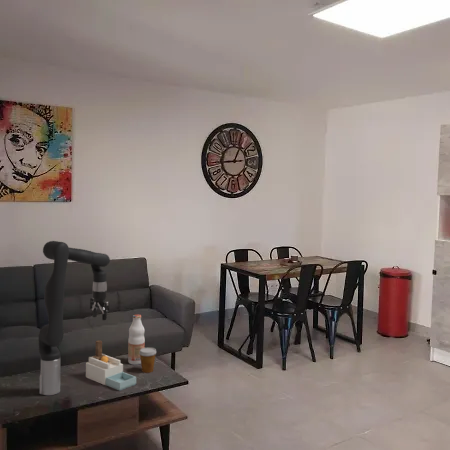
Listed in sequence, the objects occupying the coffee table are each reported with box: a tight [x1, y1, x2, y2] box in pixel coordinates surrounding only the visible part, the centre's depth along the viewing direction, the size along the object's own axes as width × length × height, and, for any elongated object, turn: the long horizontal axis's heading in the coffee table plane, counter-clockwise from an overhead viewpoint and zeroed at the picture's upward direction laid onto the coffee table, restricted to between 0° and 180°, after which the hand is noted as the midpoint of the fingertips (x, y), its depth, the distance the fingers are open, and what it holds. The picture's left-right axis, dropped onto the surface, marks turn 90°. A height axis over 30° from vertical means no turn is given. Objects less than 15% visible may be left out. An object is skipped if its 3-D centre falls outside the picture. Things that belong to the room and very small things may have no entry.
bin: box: [105, 371, 137, 391], centre depth 257 cm, size 11×11×4 cm
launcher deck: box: [85, 353, 124, 386], centre depth 265 cm, size 12×16×10 cm
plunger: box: [93, 339, 106, 361], centre depth 267 cm, size 5×4×11 cm
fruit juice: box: [127, 314, 146, 366], centre depth 290 cm, size 9×9×28 cm
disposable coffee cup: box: [139, 347, 157, 374], centre depth 277 cm, size 10×10×12 cm
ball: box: [101, 355, 108, 363], centre depth 265 cm, size 4×4×4 cm
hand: (99, 318), depth 272 cm, fingers open, 8 cm apart
